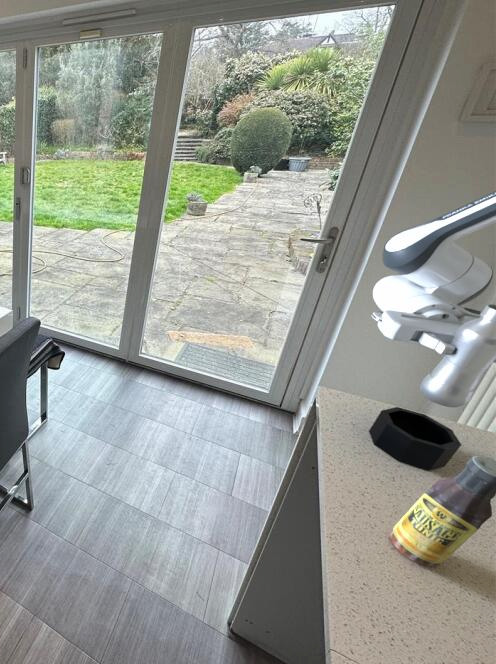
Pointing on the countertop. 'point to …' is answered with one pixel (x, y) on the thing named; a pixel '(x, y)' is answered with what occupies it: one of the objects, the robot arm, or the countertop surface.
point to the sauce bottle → (447, 514)
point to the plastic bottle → (463, 362)
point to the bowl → (414, 438)
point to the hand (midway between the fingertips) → (474, 355)
